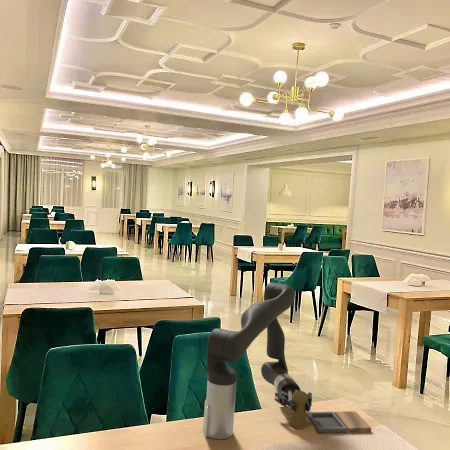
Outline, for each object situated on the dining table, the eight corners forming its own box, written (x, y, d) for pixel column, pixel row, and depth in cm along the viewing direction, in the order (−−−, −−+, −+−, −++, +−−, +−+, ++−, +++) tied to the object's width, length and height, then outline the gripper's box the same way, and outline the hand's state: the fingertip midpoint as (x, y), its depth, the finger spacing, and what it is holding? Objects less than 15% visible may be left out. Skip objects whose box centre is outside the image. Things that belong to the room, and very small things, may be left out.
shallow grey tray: (318, 433, 157) (318, 428, 157) (306, 416, 169) (306, 412, 168) (347, 432, 159) (347, 428, 158) (332, 415, 170) (333, 411, 170)
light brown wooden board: (348, 432, 159) (348, 428, 159) (334, 415, 170) (334, 411, 170) (370, 432, 160) (371, 427, 160) (355, 415, 172) (355, 411, 172)
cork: (304, 420, 165) (307, 389, 164) (308, 428, 159) (311, 396, 158) (287, 419, 165) (290, 388, 164) (290, 427, 159) (293, 395, 158)
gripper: (268, 377, 174) (282, 398, 157) (306, 377, 176) (323, 397, 159) (267, 397, 174) (280, 420, 157) (304, 397, 177) (321, 419, 160)
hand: (302, 408), depth 159 cm, fingers closed on cork, 4 cm apart
